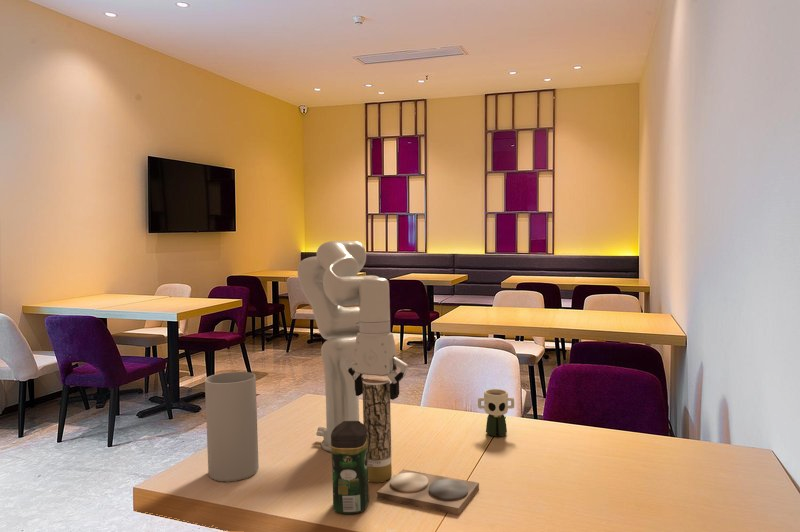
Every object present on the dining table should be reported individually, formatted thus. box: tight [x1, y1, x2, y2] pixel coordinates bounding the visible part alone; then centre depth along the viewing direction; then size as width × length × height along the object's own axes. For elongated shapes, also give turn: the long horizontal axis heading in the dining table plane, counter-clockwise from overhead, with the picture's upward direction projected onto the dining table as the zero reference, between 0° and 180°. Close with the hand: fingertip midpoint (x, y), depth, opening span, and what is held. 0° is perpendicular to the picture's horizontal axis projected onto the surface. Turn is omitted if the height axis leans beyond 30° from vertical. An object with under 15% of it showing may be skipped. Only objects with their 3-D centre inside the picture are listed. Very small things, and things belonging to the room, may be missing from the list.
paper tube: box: [362, 375, 393, 484], centre depth 144 cm, size 7×7×25 cm
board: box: [376, 468, 480, 516], centre depth 135 cm, size 20×14×2 cm
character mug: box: [477, 388, 515, 437], centre depth 174 cm, size 11×7×13 cm, turn 86°
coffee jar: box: [330, 420, 370, 515], centre depth 129 cm, size 10×8×19 cm
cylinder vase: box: [204, 371, 260, 482], centre depth 149 cm, size 12×12×25 cm
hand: (376, 396), depth 143 cm, fingers open, 9 cm apart
